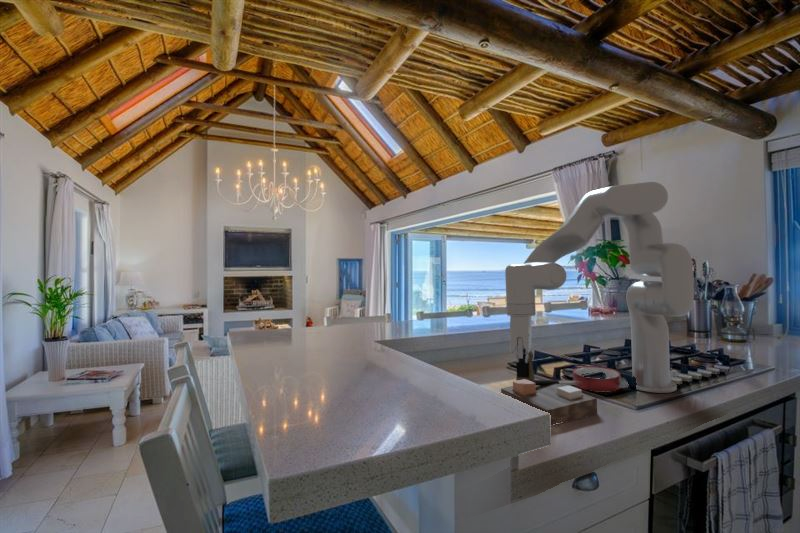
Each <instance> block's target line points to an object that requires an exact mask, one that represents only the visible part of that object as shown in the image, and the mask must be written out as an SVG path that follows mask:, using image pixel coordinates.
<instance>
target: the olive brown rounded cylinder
mask: <svg viewBox="0 0 800 533" xmlns="http://www.w3.org/2000/svg"><path fill="white" fill-rule="evenodd" d="M515 357H516V359H517V356H516V355H515ZM533 359H534V353H533V351H532V350H530V351H529V353H528V362H529V373H530V375H529V378H524V377H517V376H516V379H515V381H517V380H522V379H527V380H529V381H531V380H536V379H535V373H534V372H535V371H534V369H533V368H534V367H533V362H532V361H533Z"/></svg>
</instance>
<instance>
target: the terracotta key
mask: <svg viewBox="0 0 800 533" xmlns="http://www.w3.org/2000/svg"><path fill="white" fill-rule="evenodd" d="M512 386H513V391H514V392H516V393H518V394H521V395H523V396H524V395H528V394H533V393H536V384H535V383H534V382H532V381H529V380H527V379H522V380H517V381H516V380H512Z"/></svg>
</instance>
